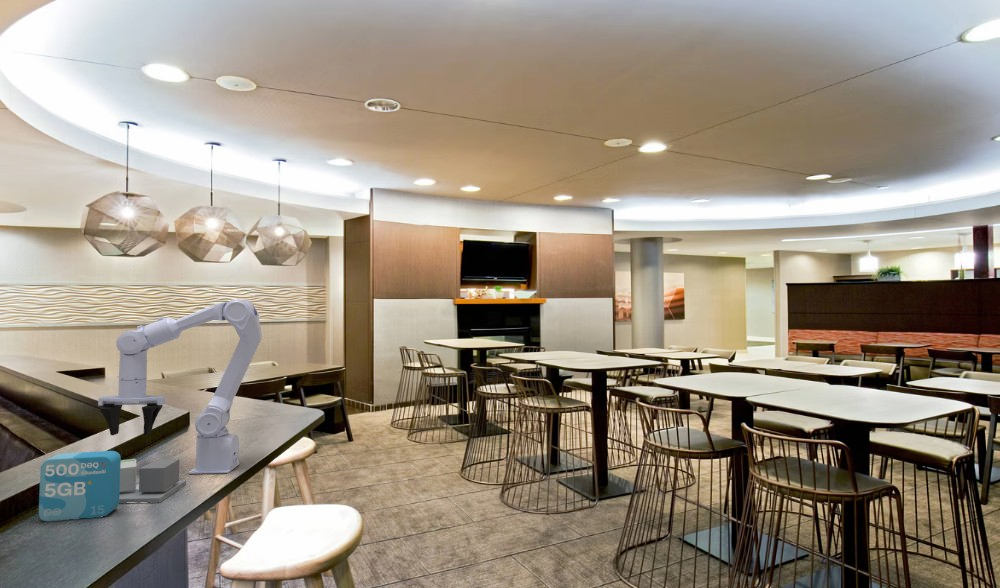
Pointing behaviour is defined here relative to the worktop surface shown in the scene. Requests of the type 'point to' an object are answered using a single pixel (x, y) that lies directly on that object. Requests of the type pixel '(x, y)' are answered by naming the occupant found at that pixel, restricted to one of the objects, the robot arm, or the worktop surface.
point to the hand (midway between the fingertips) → (131, 434)
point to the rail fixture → (155, 482)
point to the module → (128, 475)
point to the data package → (79, 485)
